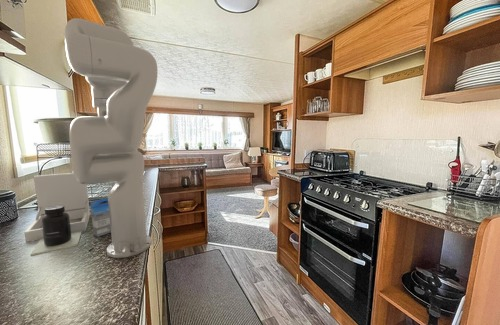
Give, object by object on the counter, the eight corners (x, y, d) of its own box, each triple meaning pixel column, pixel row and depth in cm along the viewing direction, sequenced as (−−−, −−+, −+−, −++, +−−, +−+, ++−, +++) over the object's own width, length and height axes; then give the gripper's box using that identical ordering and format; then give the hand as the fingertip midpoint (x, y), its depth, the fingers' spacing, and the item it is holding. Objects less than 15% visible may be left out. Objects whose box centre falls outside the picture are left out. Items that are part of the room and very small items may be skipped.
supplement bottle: (48, 249, 66) (43, 212, 64) (41, 243, 70) (36, 208, 68) (75, 240, 72) (71, 205, 70) (67, 234, 75) (63, 202, 74)
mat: (77, 245, 69) (77, 243, 69) (30, 255, 63) (30, 254, 63) (81, 232, 79) (81, 230, 78) (41, 240, 73) (41, 238, 73)
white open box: (85, 230, 80) (79, 179, 77) (25, 242, 71) (16, 185, 69) (90, 214, 95) (85, 171, 92) (41, 222, 87) (34, 175, 84)
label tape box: (97, 237, 75) (93, 203, 73) (93, 234, 77) (89, 201, 75) (124, 228, 82) (121, 197, 80) (119, 225, 84) (116, 195, 82)
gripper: (115, 102, 79) (119, 148, 82) (115, 107, 94) (118, 146, 96) (90, 101, 75) (95, 149, 78) (94, 106, 90) (98, 146, 92)
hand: (108, 147), depth 87 cm, fingers open, 9 cm apart
